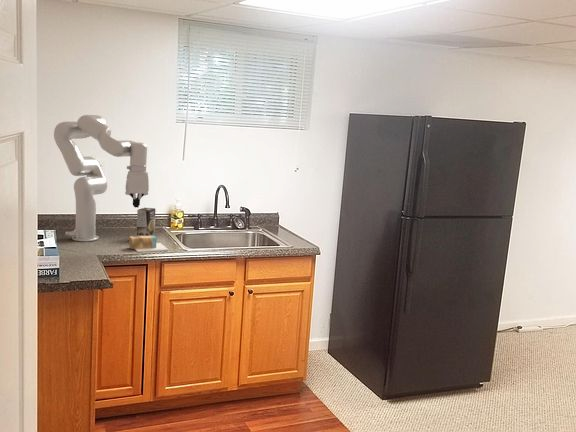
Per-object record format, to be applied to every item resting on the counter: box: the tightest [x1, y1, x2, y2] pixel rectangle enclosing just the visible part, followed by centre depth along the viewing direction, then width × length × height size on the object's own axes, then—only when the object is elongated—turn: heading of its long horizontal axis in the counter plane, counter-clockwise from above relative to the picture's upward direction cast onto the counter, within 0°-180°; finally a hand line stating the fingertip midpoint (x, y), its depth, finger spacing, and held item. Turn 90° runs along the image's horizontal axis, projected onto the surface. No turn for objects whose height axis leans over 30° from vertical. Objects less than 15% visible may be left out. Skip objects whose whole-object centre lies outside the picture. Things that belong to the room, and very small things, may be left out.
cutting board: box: [133, 242, 169, 253], centre depth 288 cm, size 15×14×1 cm
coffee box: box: [136, 207, 156, 237], centre depth 305 cm, size 9×6×16 cm
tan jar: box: [128, 235, 158, 250], centre depth 286 cm, size 5×5×12 cm
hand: (136, 206), depth 282 cm, fingers closed
